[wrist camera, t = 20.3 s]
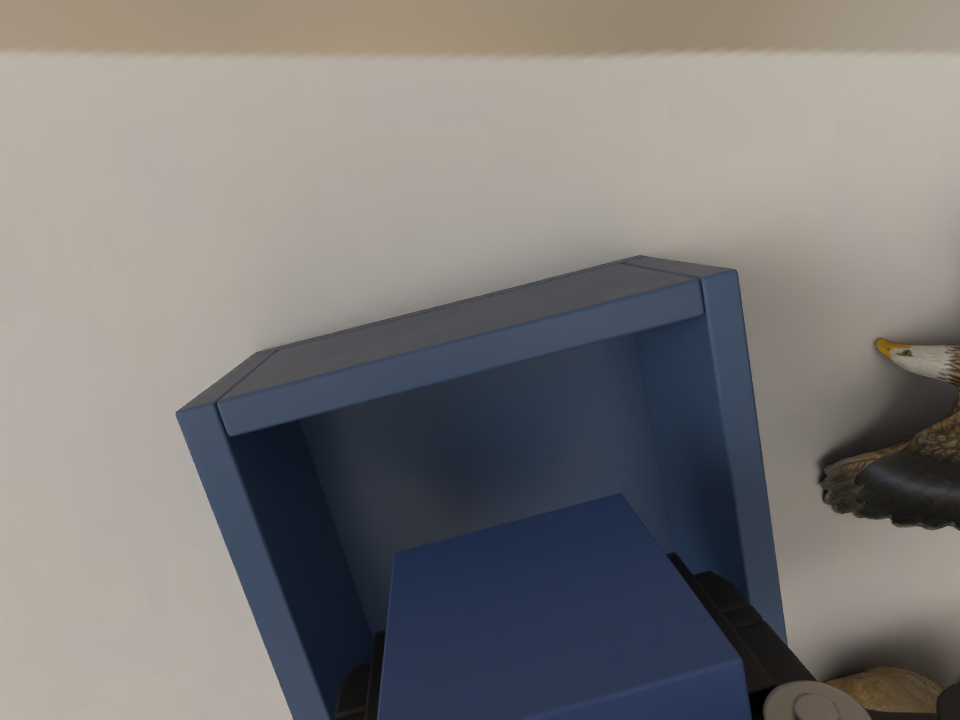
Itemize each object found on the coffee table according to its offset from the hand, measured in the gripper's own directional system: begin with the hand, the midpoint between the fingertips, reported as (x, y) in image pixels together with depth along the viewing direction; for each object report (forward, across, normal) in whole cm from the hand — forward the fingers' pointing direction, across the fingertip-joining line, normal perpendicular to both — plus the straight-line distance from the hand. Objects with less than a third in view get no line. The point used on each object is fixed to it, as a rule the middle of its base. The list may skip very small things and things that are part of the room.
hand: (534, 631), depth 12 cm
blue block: (0, 0, 0) cm, 0 cm away
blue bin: (+7, 0, 0) cm, 7 cm away
